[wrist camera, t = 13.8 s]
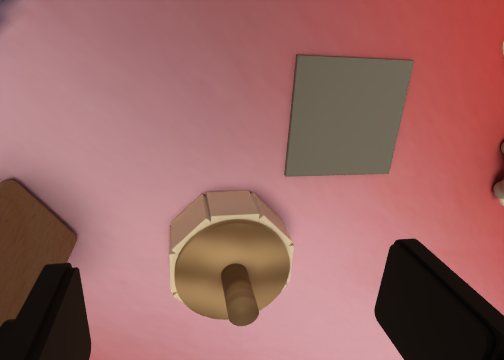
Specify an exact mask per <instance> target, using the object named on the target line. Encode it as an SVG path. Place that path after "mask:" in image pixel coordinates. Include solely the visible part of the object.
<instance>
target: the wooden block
mask: <svg viewBox="0 0 504 360" xmlns="http://www.w3.org/2000/svg"><path fill="white" fill-rule="evenodd" d="M76 241H77V239H76V236H75V234H74V233H73V232H72V231H71V230H70V229H69V228H68V227H66V226H65V225H64V224H63V223H62V222H61V221H60V220H59V219H58V218H57V217H55V216H54V215H53V214H52V213H51V212H50V211H49V210H48V209H47V208H45V207H44V206H43V205H42V204H41V203H40V202H39V201H38V200H37V199H36V198H34V197H33V196H32V195H31V194H30V193H29V192H28V191H27V190H26V189H24V188H23V187H22V186H21V185H20V184H19V183H18V182H16V181H14V180H8V181H3V182H1V183H0V326H1V325H2V324H3V322H5V321H6V320H8V319H16V317H17V315H18V313H19V312H20V310H21V308H22V306H23V304H24V302H25V300H26V299H27V297H28V295H29V293H30V291H31V289H32V287H33V286H34V284H35V282H36V280H37V278H38V276H39V274H40V273H41V271H42V269H43V267H44V266H45V265H46V264H55V263H67V261H68V259H69V257H70V254H71V252H72V250H73V248H74V245H75V243H76Z"/></svg>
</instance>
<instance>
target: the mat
mask: <svg viewBox="0 0 504 360" xmlns="http://www.w3.org/2000/svg"><path fill="white" fill-rule="evenodd" d="M413 64H414V61H412V60H393V59H372V58H352V57H331V56H310V55H296V64H295V74H294V84H293V94H292V104H291V114H290V124H289V134H288V144H287V154H286V164H285V174H284V175H285V176H324V175H362V174H389V171H390V166H391V162H392V157H393V153H394V149H395V144H396V140H397V135H398V131H399V126H400V122H401V117H402V113H403V109H404V104H405V100H406V95H407V91H408V86H409V82H410V77H411V73H412V69H413Z"/></svg>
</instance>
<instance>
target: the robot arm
mask: <svg viewBox="0 0 504 360" xmlns="http://www.w3.org/2000/svg"><path fill="white" fill-rule="evenodd" d="M375 317H376V319H377V321H378V323H379V324H380V325H381V327H382V328H383V330H384V331H385V333H386V334H387V336H388V337H389V338H390V340H391V341H392V343H393V344H394V346H395V347H396V349H397V350H398V352H399V353H400V354H401V356H402V357H403V359H404V360H504V316H503V315H502V314H501V313H500V312H499V311H498V310H497V309H495V308H494V307H493V306H492V305H491V304H490V303H489V302H487V301H486V300H485V299H484V298H483V297H482V296H481V295H479V294H478V293H477V292H476V291H475V290H474V289H473V288H472V287H470V286H469V285H468V284H467V283H466V282H465V281H464V280H462V279H461V278H460V277H459V276H458V275H457V274H456V273H454V272H453V271H452V270H451V269H450V268H449V267H448V266H446V265H445V264H444V263H443V262H442V261H441V260H440V259H439V258H437V257H436V256H435V255H434V254H433V253H432V252H431V251H429V250H428V249H427V248H426V247H425V246H424V245H423V244H421V243H420V242H419V241H418V240H416V239H400V240H396V241H395V242H394V244H393V245H391V246H390V249H389V253H388V257H387V261H386V265H385V269H384V273H383V277H382V281H381V285H380V289H379V293H378V297H377V301H376V305H375ZM90 353H91V338H90V332H89V326H88V320H87V314H86V308H85V302H84V296H83V290H82V284H81V278H80V272H79V269H78V268H77V267H76V268H72V266H71V264H70V263H55V264H46V265H45V266H44V267H43V269H42V271H41V273H40V274H39V276H38V278H37V280H36V282H35V284H34V286H33V287H32V289H31V291H30V293H29V295H28V297H27V299H26V300H25V302H24V304H23V306H22V308H21V310H20V312H19V313H18V315H17V317H16V319H8V320H6V321H5V322H3V324H2V325H1V326H0V360H89V358H90Z"/></svg>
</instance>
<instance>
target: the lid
mask: <svg viewBox="0 0 504 360" xmlns="http://www.w3.org/2000/svg"><path fill="white" fill-rule="evenodd" d="M289 271H290V259H289V255H288V252H287V249H286V247H285V245H284V243H283V241H282V240H281V238H280V237H279V236H278V235H277V234H276V233H275V232H274V231H273V230H272V229H270V228H269V227H267V226H265V225H264V224H261V223H259V222H255V221H252V220H245V219H232V220H225V221H220V222H217V223H214V224H211V225H209V226H207V227H205V228H203V229H202V230H200V231H199V232H197V233H196V234H195V235H193V236H192V237H191V238H190V239H189V240H188V241H187V242H186V243H185V245H184V246H183V247H182V249H181V251H180V253H179V255H178V257H177V260H176V264H175V273H174V279H175V287H176V290H177V293H178V295H179V297H180V298H181V300H182V301H183V303H184V304H185V305H186V306H187V307H189V308H190V309H191V310H192V311H194V312H196V313H198V314H200V315H202V316H205V317H209V318H213V319H224V320H225V319H229V321H230V322H231V323H232V324H234V325H237V326H245V325H248V324H251V323H252V322H254V321H255V320H256V318H257V317H258V315H259V310H261V309H263V308H264V307H266V306H267V305H268V304H270V303H271V302H272V301H273V300H274V299H275V298H276V297H277V296H278V295H279V294H280V292H281V291H282V289H283V288H284V286H285V284H286V282H287V279H288V276H289Z"/></svg>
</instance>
